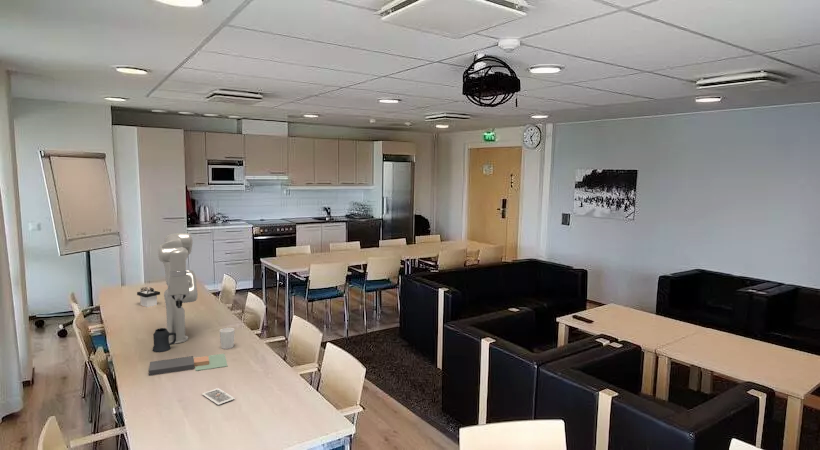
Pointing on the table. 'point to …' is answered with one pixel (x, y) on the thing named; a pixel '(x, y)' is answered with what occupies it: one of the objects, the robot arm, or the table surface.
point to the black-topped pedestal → (148, 297)
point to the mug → (162, 340)
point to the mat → (214, 362)
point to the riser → (171, 365)
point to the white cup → (227, 338)
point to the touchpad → (218, 396)
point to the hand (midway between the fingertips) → (179, 307)
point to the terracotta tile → (201, 361)
